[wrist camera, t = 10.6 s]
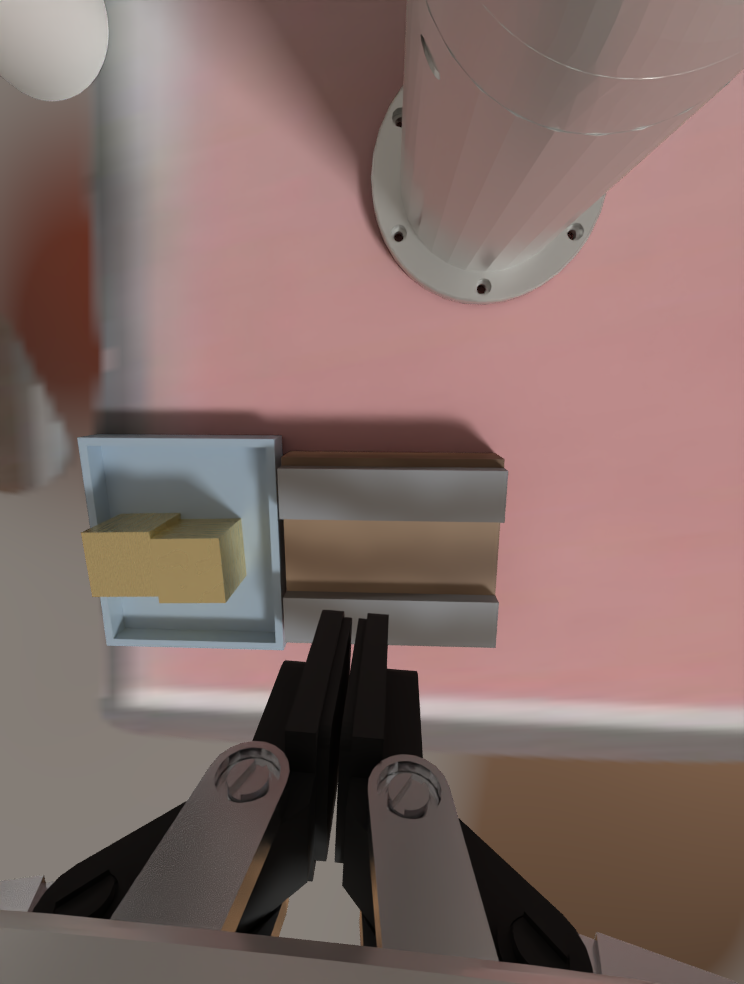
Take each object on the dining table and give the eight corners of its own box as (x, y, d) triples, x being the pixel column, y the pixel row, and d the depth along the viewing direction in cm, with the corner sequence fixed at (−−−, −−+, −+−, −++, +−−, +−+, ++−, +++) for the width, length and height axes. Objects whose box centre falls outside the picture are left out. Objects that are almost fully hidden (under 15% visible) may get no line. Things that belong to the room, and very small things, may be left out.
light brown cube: (181, 519, 30) (150, 539, 26) (241, 518, 30) (218, 538, 26) (188, 576, 31) (159, 603, 27) (246, 575, 31) (225, 603, 27)
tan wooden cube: (180, 512, 30) (120, 513, 30) (148, 531, 26) (81, 532, 26) (187, 570, 31) (129, 570, 31) (158, 596, 27) (92, 597, 27)
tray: (97, 433, 30) (77, 437, 28) (281, 435, 29) (273, 439, 27) (123, 629, 33) (107, 645, 31) (290, 634, 33) (283, 650, 31)
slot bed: (290, 451, 30) (276, 460, 26) (494, 452, 29) (508, 462, 26) (296, 621, 32) (285, 649, 29) (483, 626, 32) (494, 654, 28)
